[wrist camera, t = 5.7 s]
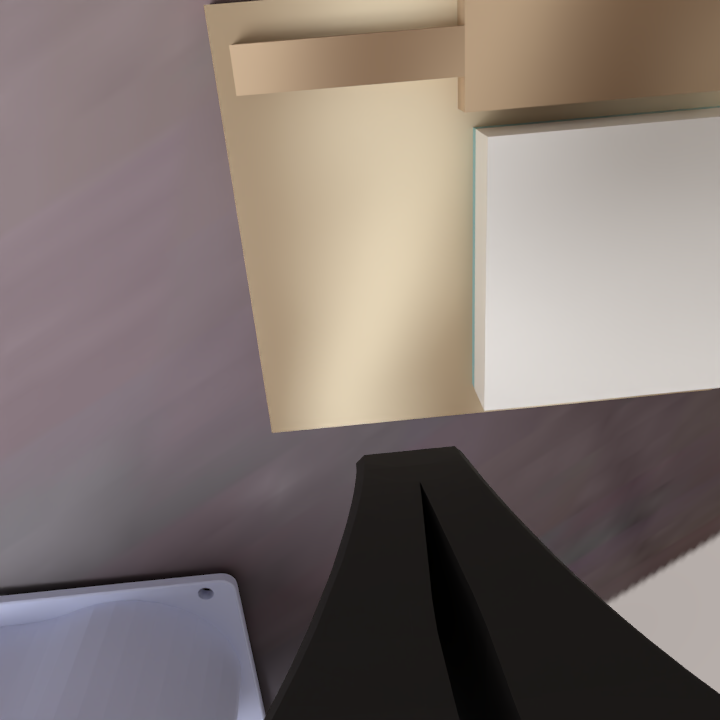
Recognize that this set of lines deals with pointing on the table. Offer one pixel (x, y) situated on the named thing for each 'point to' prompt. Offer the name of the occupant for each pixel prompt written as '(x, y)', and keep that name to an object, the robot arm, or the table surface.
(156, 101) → the table surface
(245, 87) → the spatula
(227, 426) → the table surface
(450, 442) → the table surface
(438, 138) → the board
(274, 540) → the table surface
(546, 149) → the tile
